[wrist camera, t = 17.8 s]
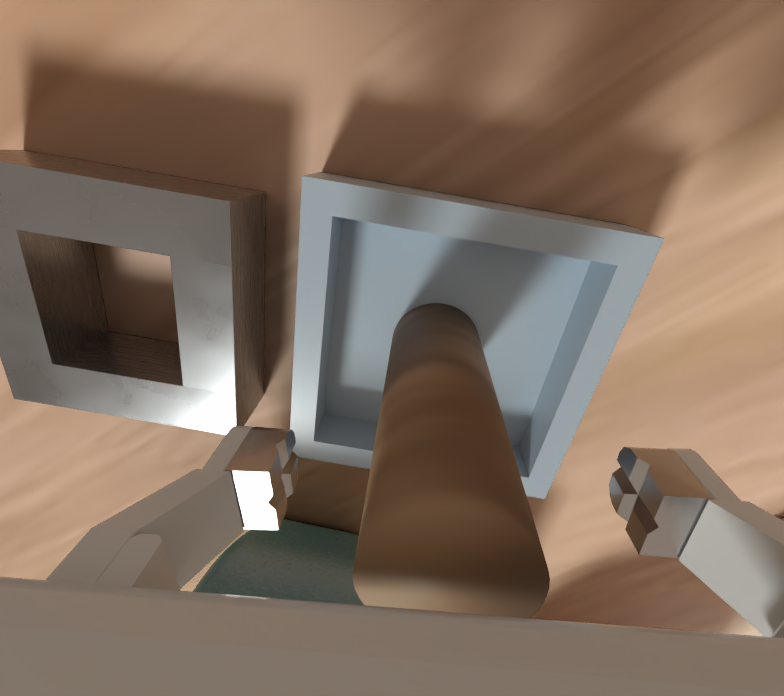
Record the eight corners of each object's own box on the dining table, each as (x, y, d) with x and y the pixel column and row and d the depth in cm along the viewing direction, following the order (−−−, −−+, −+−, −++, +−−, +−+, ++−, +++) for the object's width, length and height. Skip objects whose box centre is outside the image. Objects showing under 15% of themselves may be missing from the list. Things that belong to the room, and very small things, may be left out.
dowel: (380, 365, 17) (331, 611, 8) (409, 290, 15) (387, 490, 6) (458, 391, 17) (495, 657, 8) (493, 320, 15) (589, 552, 7)
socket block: (73, 362, 19) (14, 398, 16) (22, 149, 14) (-70, 149, 12) (263, 395, 19) (236, 436, 16) (265, 191, 15) (229, 201, 12)
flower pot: (236, 582, 25) (148, 783, 17) (237, 482, 21) (124, 682, 13) (371, 608, 25) (346, 819, 17) (398, 514, 21) (381, 730, 13)
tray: (304, 419, 19) (288, 455, 17) (321, 172, 14) (301, 175, 12) (530, 458, 19) (544, 499, 17) (626, 224, 14) (664, 238, 12)
